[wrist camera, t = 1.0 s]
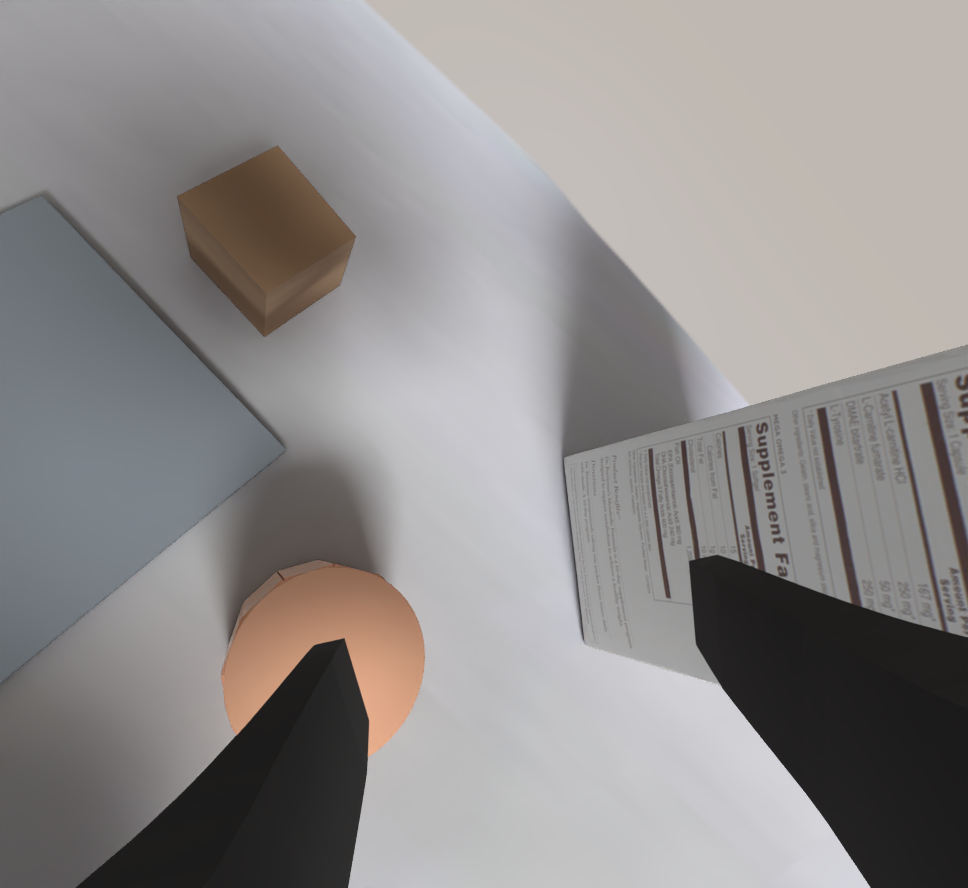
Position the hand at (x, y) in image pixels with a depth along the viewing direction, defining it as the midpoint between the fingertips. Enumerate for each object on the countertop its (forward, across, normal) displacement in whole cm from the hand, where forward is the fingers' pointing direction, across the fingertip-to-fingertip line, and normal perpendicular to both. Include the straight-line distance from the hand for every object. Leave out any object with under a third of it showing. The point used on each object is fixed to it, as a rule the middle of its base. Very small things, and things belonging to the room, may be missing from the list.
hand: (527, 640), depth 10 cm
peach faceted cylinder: (+8, +7, +4) cm, 12 cm away
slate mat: (+9, +15, -5) cm, 18 cm away
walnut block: (+14, +7, -9) cm, 18 cm away
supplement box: (+15, -8, +7) cm, 18 cm away
